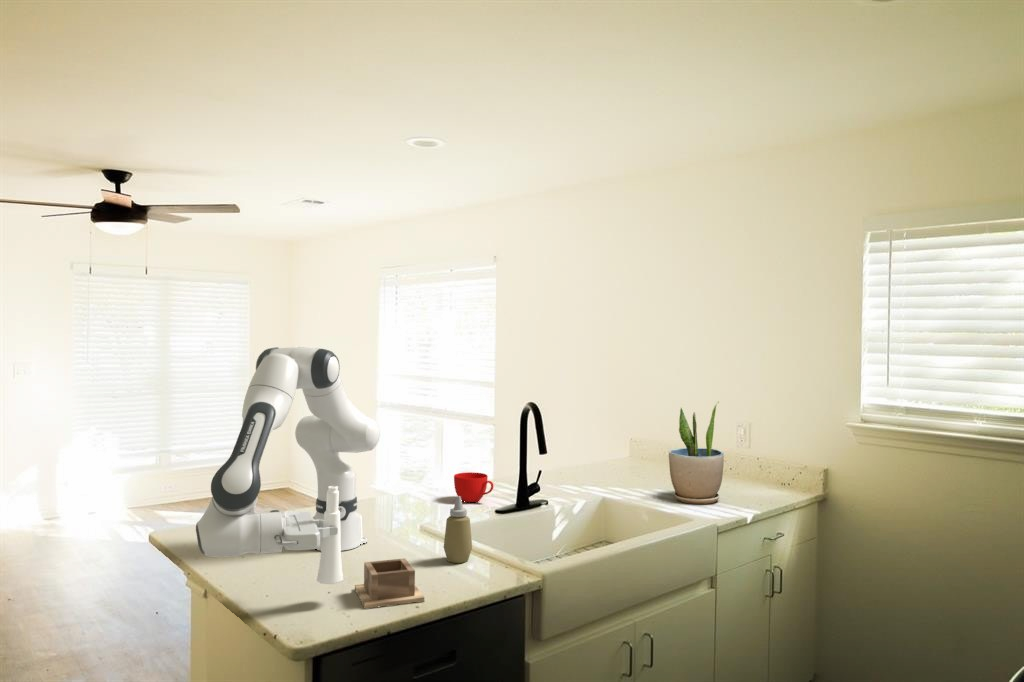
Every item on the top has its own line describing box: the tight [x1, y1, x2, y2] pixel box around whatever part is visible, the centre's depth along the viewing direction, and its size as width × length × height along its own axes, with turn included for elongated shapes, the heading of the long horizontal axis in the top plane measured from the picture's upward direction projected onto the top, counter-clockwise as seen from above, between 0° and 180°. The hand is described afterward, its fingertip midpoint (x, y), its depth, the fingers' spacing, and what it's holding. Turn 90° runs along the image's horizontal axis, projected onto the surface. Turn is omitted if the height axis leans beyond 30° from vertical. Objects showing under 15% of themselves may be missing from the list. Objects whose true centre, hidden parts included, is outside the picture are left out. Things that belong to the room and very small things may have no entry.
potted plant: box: [668, 401, 725, 505], centre depth 285 cm, size 21×22×40 cm
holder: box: [354, 558, 425, 609], centre depth 174 cm, size 14×14×7 cm
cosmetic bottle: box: [316, 486, 344, 585], centre depth 169 cm, size 6×6×22 cm
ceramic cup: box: [453, 471, 494, 503], centre depth 276 cm, size 13×17×10 cm
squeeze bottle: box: [443, 495, 473, 564], centre depth 203 cm, size 8×8×18 cm
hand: (335, 527), depth 169 cm, fingers closed on cosmetic bottle, 4 cm apart
